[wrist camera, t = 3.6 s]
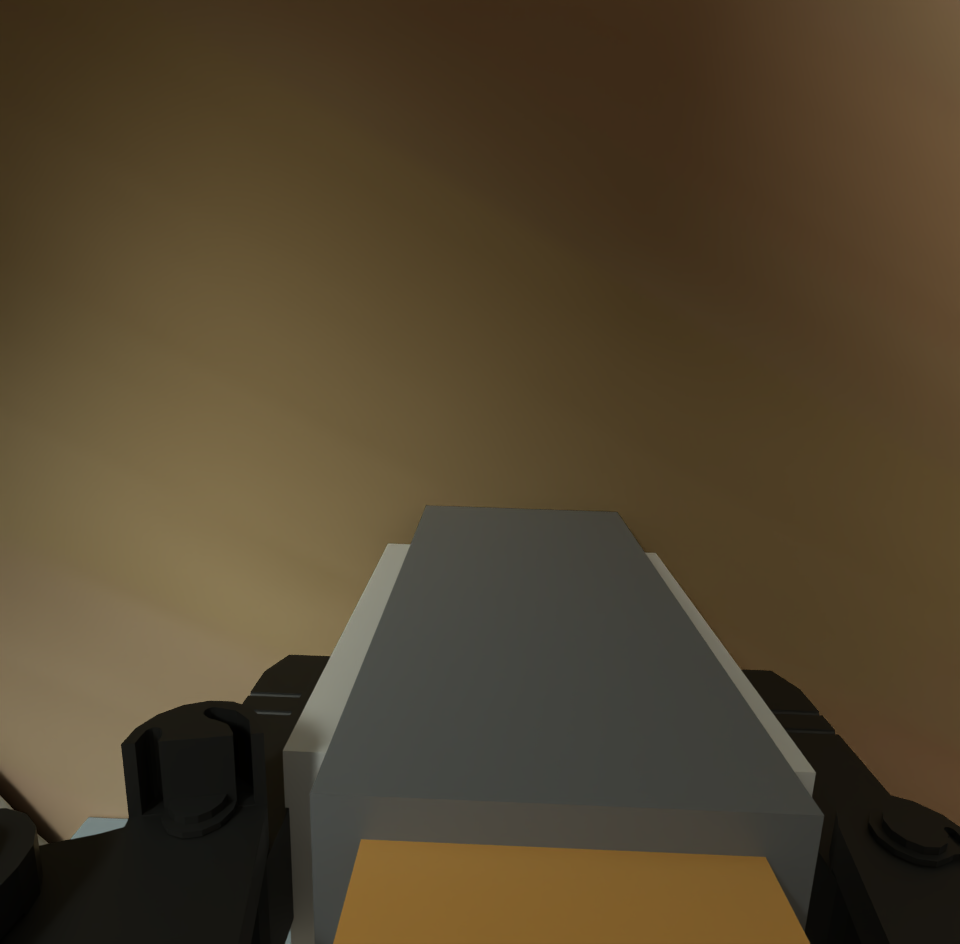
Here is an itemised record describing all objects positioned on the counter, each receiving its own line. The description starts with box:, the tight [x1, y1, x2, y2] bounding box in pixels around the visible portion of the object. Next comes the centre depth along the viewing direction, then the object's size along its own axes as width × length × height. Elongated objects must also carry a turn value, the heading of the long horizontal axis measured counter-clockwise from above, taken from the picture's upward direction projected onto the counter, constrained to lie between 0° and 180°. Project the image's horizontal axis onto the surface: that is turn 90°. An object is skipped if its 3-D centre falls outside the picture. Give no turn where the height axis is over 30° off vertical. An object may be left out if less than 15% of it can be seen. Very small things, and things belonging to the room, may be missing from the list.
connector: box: [310, 505, 824, 944], centre depth 9 cm, size 4×4×10 cm
